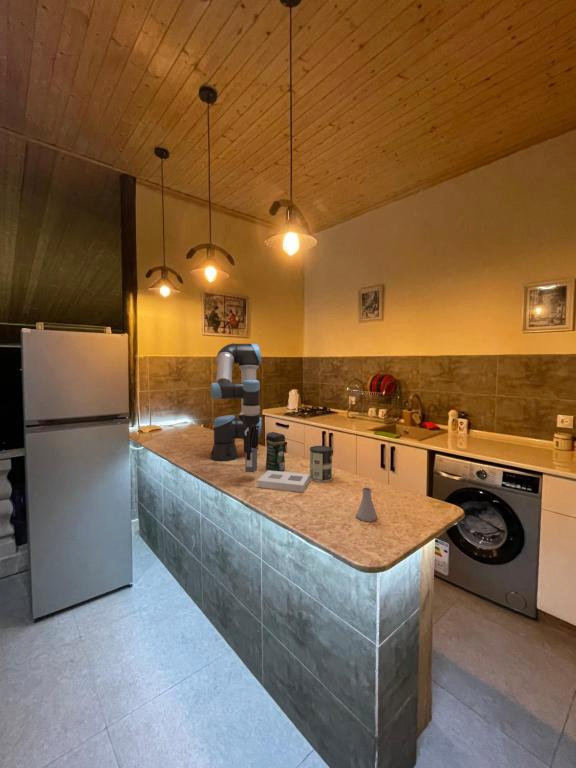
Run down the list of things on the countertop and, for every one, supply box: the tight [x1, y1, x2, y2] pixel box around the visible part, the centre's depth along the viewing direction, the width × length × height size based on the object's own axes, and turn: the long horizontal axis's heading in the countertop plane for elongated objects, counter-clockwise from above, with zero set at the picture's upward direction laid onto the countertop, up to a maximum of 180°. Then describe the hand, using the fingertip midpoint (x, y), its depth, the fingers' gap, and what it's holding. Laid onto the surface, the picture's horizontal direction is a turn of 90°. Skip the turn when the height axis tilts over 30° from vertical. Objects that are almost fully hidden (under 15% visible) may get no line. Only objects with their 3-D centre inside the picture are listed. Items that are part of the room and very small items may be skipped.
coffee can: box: [309, 445, 333, 483], centre depth 151 cm, size 10×10×14 cm
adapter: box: [244, 448, 258, 474], centre depth 149 cm, size 4×4×10 cm
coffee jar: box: [265, 431, 286, 472], centre depth 163 cm, size 10×8×19 cm
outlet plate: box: [256, 469, 311, 493], centre depth 144 cm, size 14×20×3 cm
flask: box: [355, 486, 378, 523], centre depth 113 cm, size 7×7×10 cm
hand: (251, 464), depth 149 cm, fingers closed on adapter, 4 cm apart
